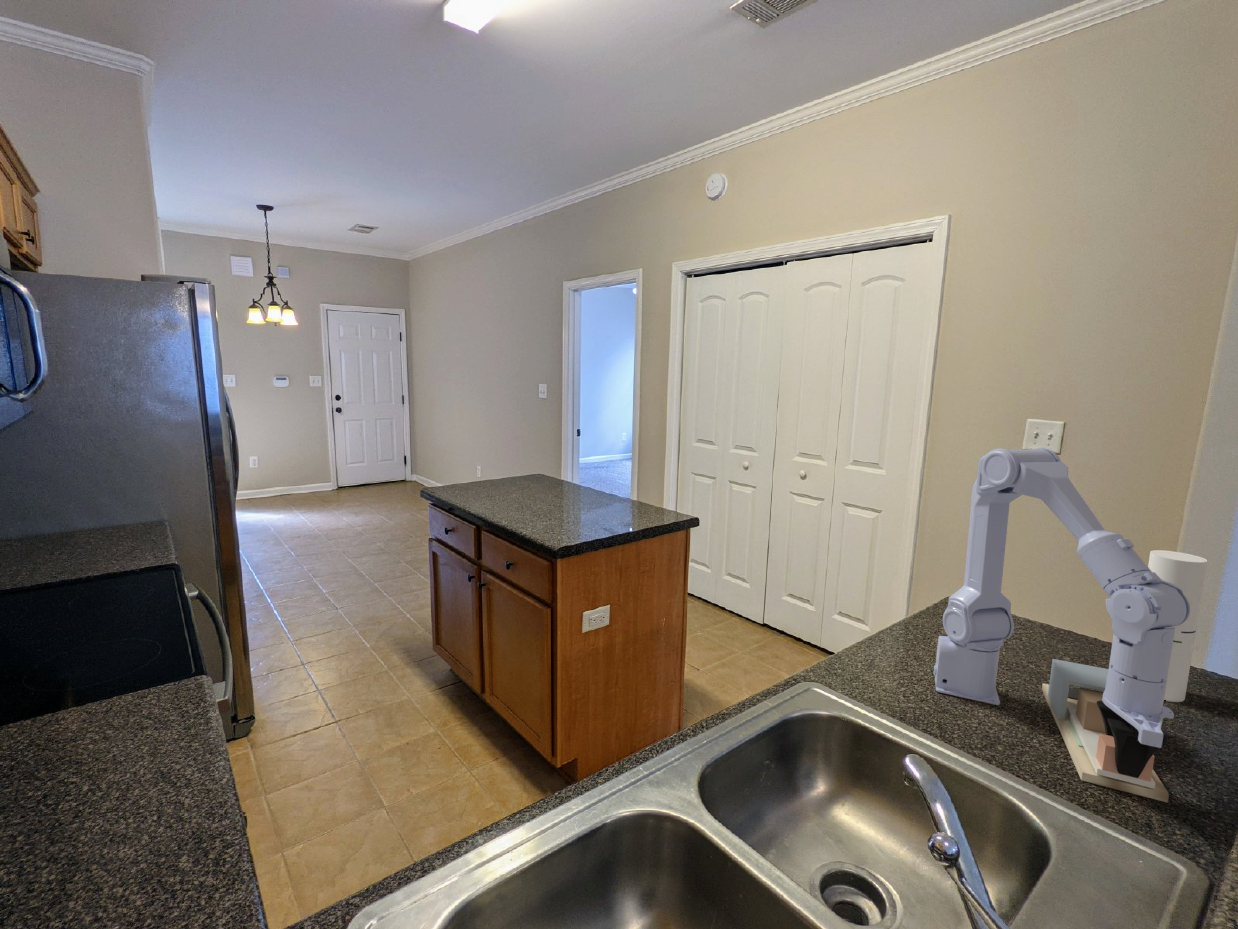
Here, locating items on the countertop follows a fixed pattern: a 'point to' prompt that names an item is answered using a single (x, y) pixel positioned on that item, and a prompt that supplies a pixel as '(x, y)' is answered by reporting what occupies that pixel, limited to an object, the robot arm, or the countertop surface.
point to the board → (1083, 761)
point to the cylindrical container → (1190, 579)
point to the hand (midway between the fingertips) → (1123, 766)
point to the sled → (1101, 739)
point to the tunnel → (1072, 682)
